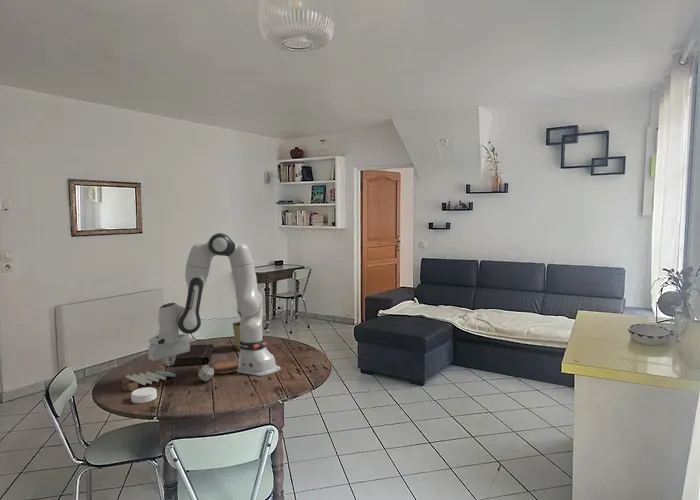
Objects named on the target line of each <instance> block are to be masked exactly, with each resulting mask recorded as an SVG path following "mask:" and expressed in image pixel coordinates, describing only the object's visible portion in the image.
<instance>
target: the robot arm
mask: <svg viewBox="0 0 700 500" xmlns="http://www.w3.org/2000/svg"><path fill="white" fill-rule="evenodd" d="M215 256H223V257H227V258H228V260H229V263H230V269H231V273H232V276H233V277H232V278H233V283H234V292H235V299H236V306H237V308H236V309H237V312H238V311H239V312H240V313H241V319H240V320H239V321H240V343H239V345H240V348H241V350H239V355H238V367H237V369H236V372H237V373H241V374H245V375H246V374H247V375H252V376H259V377H263V376H268V375H271V374H274V373H277V372H279V371H280V370H281V369H282V368H281V366H279V365H277V364H276V359H275V358H276V357H275V356H274V355H273V354H272V353H271V352H270V351H269V349H267V347H266V345H267V342H266V341H265V340H264V338H263V336H264V335H263V317H264V316H263V312H264V311H263V309H264V307H263V306H264V305H263V304H264V298H263V295H262V294H261V292H260V291H259V290H258V282H257V281H258V280H257V278H258V277H257V274H256V269H255V264H254V261H253V256H252V253H251V251H250V248H249V247H248V245H247V244H246V243H244V242H237V243H235V242H234V241H233V240H232V239H231V237H229V235H227V234H226V233H223V232H218V233H214V234H212V236H210V238H209V239H208V242H206V243H196V244H193V246H192V247H191V248H190V251H189V254H188V256H187V260H186V265H185V276H184V277H185V281H186V286H187V295H186V303H185V306H181V305H179V304H177V303H176V302H170V303H169V302H168V303H165V304H162V305H161V306H160V308H159V310H158V325H159V331H158V334H156V335H154V336H153V337H151V338H149V339H148V340H149V341H148V343H149V344H150V345H148V348H147V358H148V359H149V360H150V361H152V362H156V361H158V360H162V359H163V360H164V361H165V362H166V366H168V367H169V366H170V367H171V366H174V365H175V361H176V359H175V358H176V355H178V354H182V353H186V352H189V350H190V345H191V344H190V336H189V335H191V334H194V333H196V332H198V330H199V329H200V328H201V325H202V322H201V320H202V319H201V316H200V307H201V301H202V295H203V290H204V288H205V285H206V282H207V279H208V276H209V273H210V268H211V263H212V260H213V259H214V257H215ZM180 332H182V333H181V334H180ZM170 357H171V359H170ZM238 368H239V369H238Z"/></svg>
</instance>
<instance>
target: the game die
mask: <svg viewBox="0 0 700 500" xmlns="http://www.w3.org/2000/svg"><path fill="white" fill-rule="evenodd" d="M215 370H216V368H213V367H212V365H209V364H203V366H199V369H197V370H196V372H197V376H196V379H200V381H201V382H205V384H207V383H208V381H210V380H213V377H216V374H215Z"/></svg>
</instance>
